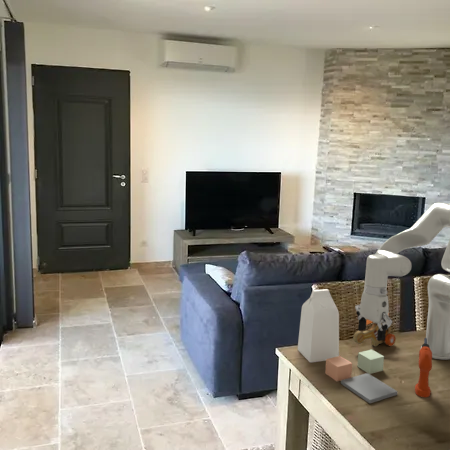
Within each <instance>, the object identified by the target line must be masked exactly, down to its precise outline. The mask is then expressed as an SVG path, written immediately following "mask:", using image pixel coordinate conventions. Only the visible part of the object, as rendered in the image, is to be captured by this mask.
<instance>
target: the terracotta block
mask: <svg viewBox="0 0 450 450" xmlns="http://www.w3.org/2000/svg"><path fill="white" fill-rule="evenodd" d="M352 369H353V362H351V361H350V360H348V359H346V358H345V357H343V356H341V355H339V356H337V357H333V358H329V359H326V361H325V371H324V372H325V373H324V374H326V376H328V377H330V378H332V379H333V381H335V382H341V380H344V379H348V378H351V377H352V373H353V372H352Z"/></svg>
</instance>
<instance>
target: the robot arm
mask: <svg viewBox="0 0 450 450" xmlns="http://www.w3.org/2000/svg"><path fill="white" fill-rule="evenodd" d="M444 228H449V229H450V202H449V203H447V202H435V203H433V204H431V205H430V206H429V207H428V209H426V211H424V213H423V214H422V215H421V216H420V217H419V218H418V219H417V221H415V223H414V224H413V225H412V226H411V227H410V228H408V229H405V230H403V231H401V232H399V233H397V234H395V235H392V236H391V237H389V238H388V239H387V240H386V241H384V243H382V245H381V246H380V247H379V248H378V249H377V250H376V252H375V254H373V253H372V254H370V255H368V256H367V258H366V262H365V263H366V264H365V266H366V267H365V275H364V276H365V278H364V287H363V288H364V289H363V290H362V294H361V298H360V299H361V300H360V304H357V305H355V311H356V316H357V320H358V328H357V331H361V332H363V331H366V330H367V325H366V320H370V321H372V322H373V324H374V323H377V324H378V327H379V329H380V330H378V336H377V340H378V341H381V340H385V335H386V330H387V329H388V328H389V327H390V325H391V326H392V324H393V320H392V318H391V317H389V315H388V313H390V312H389V309H390V307H389V296H388V290H387V287H388V278H389V277H403V276H406V275H408V274H409V273H410V272H411V270H412V261H411V259H409V258H408V257H407V256H405V255H402V254H399V253H401V252H402V251H404V250H406V249H412V248H418V247H424V246H428V245H429V244H431V242H433V240H434V239H435V238H436V237H437V236H438V235H439V233H441V231H442V230H443V229H444ZM440 264H441V268H442V269H443V270H444V271H446V272H448V273H450V239H448V242H447V245H446V248H445V251H444V253H443V256H442V258H441V263H440ZM427 295H428V312H427V318H426V319H427V320H426V331H425V338H427V344H428V345H429V347H430V349H431V351H432V359H435V360H446V361H447V360H448V361H449V360H450V275H447V274H443V273H436V274H434V275H432V276H431V277H430V278H429V280H428V283H427ZM380 320H381V321H380ZM385 322H386V323H385ZM381 323H382V324H383V326H382V325H381ZM421 348H422V345H421V346H420V349H421Z"/></svg>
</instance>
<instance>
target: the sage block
mask: <svg viewBox="0 0 450 450" xmlns="http://www.w3.org/2000/svg"><path fill="white" fill-rule="evenodd" d="M384 361H385V356H384V355H382V354H381V353H379V352H377V351H375V350H374V349H368V350H363V351H360V352H358V353H357V367H358V369H361V370H362V371H363V372H365V373H368V374H370V375H372V374H374V373H375V374H376V373H379V372H383V371H384Z"/></svg>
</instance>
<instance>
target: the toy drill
mask: <svg viewBox="0 0 450 450" xmlns="http://www.w3.org/2000/svg"><path fill="white" fill-rule="evenodd" d="M421 346H422V348H421V347H420V349H419V352H418V357H419V358H418V369H419V377H418V382H417V383H416V384H415V385H414V393H415V394H416V395H417V397H421V398H429V397H430V396H431V391H432V390H431V387H430V386H429V376H430V371H432V369H433V361H432V360H433V358H432V351H431V349H430V347H429V345H428V344H427V338H426V337H424V340H423V343H422V345H421Z"/></svg>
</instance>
